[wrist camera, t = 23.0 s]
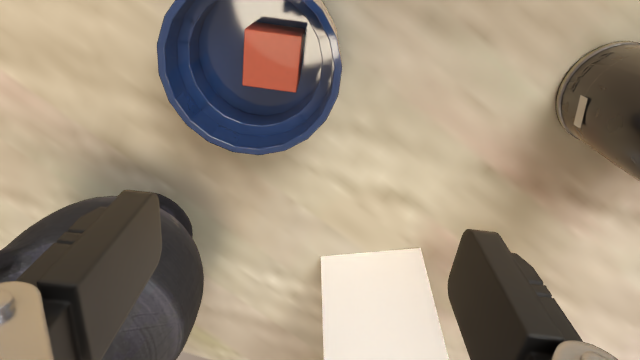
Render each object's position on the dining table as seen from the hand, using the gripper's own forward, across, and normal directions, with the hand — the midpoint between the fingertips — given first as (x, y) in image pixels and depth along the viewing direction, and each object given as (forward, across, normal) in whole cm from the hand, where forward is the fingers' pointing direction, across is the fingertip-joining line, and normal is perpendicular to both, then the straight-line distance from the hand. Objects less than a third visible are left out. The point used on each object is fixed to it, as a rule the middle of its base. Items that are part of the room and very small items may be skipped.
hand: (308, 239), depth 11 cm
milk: (+30, -9, +28) cm, 42 cm away
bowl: (+30, +6, +1) cm, 30 cm away
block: (+29, +4, +1) cm, 30 cm away
